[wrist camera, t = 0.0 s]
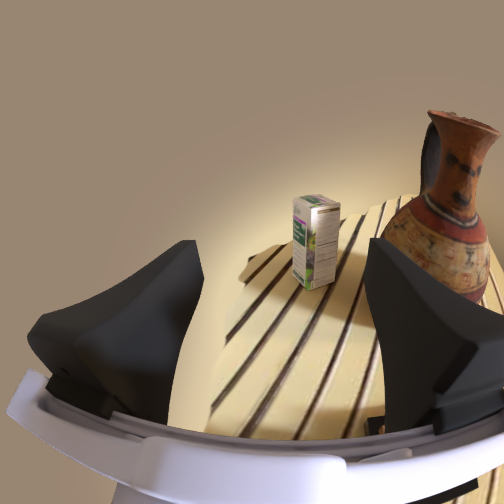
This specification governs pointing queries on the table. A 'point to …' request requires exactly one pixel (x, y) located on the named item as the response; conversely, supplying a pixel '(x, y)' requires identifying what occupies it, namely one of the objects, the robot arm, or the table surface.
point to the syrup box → (315, 240)
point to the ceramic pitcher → (448, 207)
